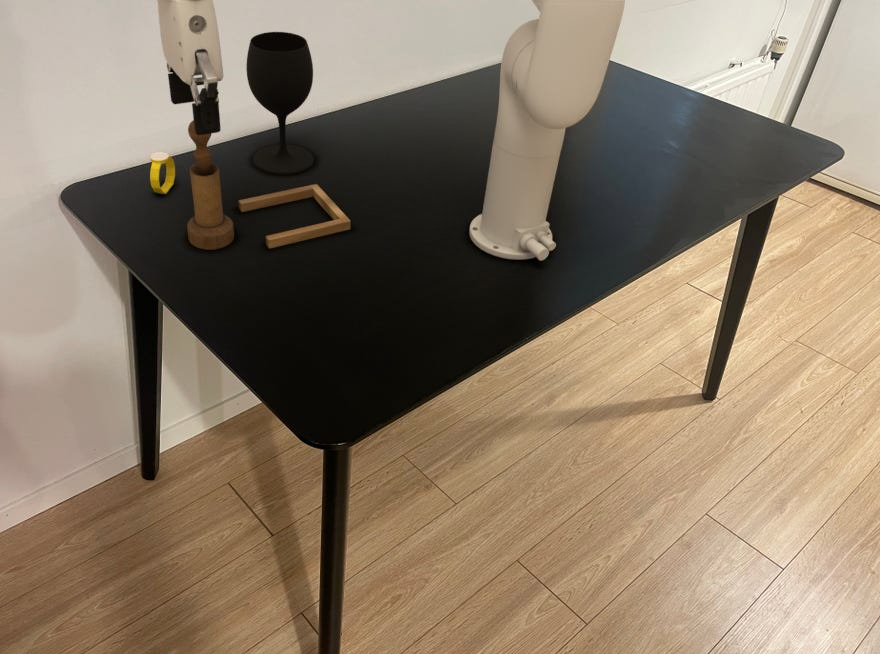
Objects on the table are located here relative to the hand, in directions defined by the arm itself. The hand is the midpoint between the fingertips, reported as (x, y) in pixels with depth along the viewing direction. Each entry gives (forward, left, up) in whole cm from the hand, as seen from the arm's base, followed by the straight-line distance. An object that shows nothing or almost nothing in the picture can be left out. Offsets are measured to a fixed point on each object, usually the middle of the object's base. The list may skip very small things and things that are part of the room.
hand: (195, 117), depth 102 cm
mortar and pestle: (0, 0, -19) cm, 19 cm away
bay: (0, -13, -19) cm, 22 cm away
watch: (+16, +2, -19) cm, 25 cm away
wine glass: (+18, -19, -19) cm, 32 cm away
